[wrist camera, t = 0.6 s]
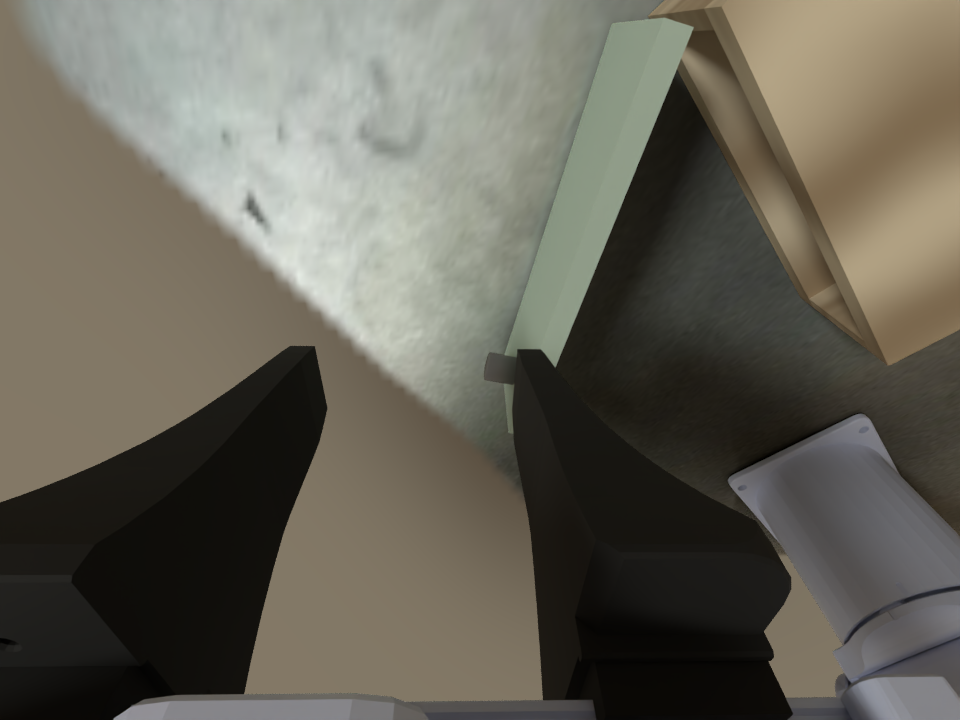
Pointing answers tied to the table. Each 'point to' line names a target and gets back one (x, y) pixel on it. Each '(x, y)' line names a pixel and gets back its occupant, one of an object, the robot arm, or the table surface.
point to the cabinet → (843, 150)
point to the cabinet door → (593, 186)
